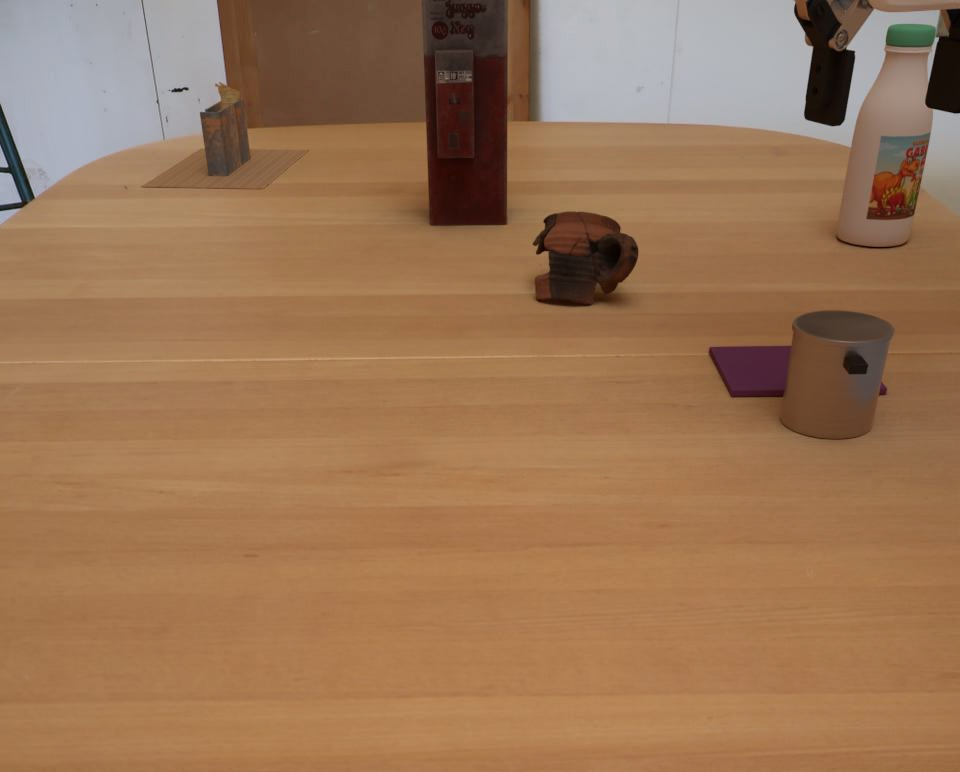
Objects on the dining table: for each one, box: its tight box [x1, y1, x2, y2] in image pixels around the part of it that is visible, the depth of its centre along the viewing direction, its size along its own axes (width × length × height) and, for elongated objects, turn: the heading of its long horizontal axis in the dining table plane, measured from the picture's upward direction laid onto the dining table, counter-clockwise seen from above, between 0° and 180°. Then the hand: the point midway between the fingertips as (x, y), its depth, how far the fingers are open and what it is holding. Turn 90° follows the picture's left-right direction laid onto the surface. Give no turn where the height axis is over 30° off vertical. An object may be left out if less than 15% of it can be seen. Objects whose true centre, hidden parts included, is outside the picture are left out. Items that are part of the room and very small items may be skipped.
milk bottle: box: [836, 23, 937, 248], centre depth 117 cm, size 8×8×20 cm
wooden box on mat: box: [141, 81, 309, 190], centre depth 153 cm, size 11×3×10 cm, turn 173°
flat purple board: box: [708, 345, 888, 398], centre depth 91 cm, size 12×10×1 cm
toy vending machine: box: [421, 0, 509, 226], centre depth 124 cm, size 9×11×28 cm
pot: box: [779, 309, 895, 440], centre depth 81 cm, size 7×10×7 cm
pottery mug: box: [532, 210, 639, 306], centre depth 107 cm, size 12×10×8 cm
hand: (885, 116), depth 71 cm, fingers open, 9 cm apart
